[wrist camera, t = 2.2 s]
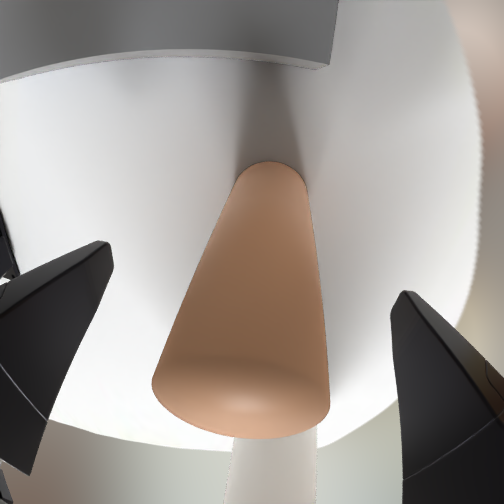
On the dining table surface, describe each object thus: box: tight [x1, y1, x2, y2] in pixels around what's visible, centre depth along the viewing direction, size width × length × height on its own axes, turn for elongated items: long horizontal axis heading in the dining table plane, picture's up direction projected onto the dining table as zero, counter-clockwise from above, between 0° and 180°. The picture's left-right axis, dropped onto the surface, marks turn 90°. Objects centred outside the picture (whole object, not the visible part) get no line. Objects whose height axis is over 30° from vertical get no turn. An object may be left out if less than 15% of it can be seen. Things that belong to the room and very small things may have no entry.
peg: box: [152, 161, 330, 439], centre depth 9 cm, size 3×3×10 cm
